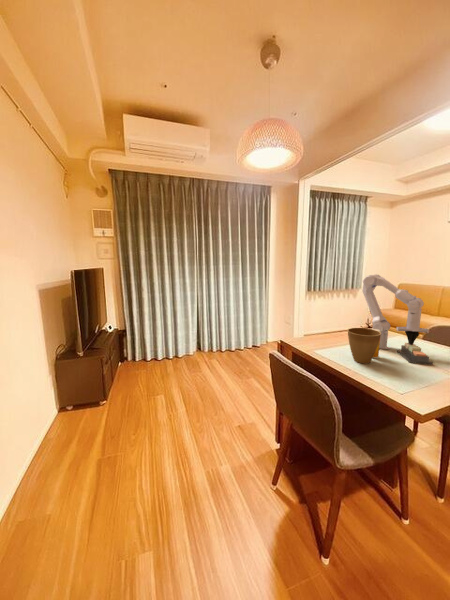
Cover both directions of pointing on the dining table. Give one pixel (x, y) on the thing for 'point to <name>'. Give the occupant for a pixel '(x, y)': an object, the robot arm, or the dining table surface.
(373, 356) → the beer can
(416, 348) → the key sage
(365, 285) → the robot arm
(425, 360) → the console
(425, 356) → the key terracotta
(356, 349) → the plant pot
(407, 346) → the key ivory
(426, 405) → the dining table surface
